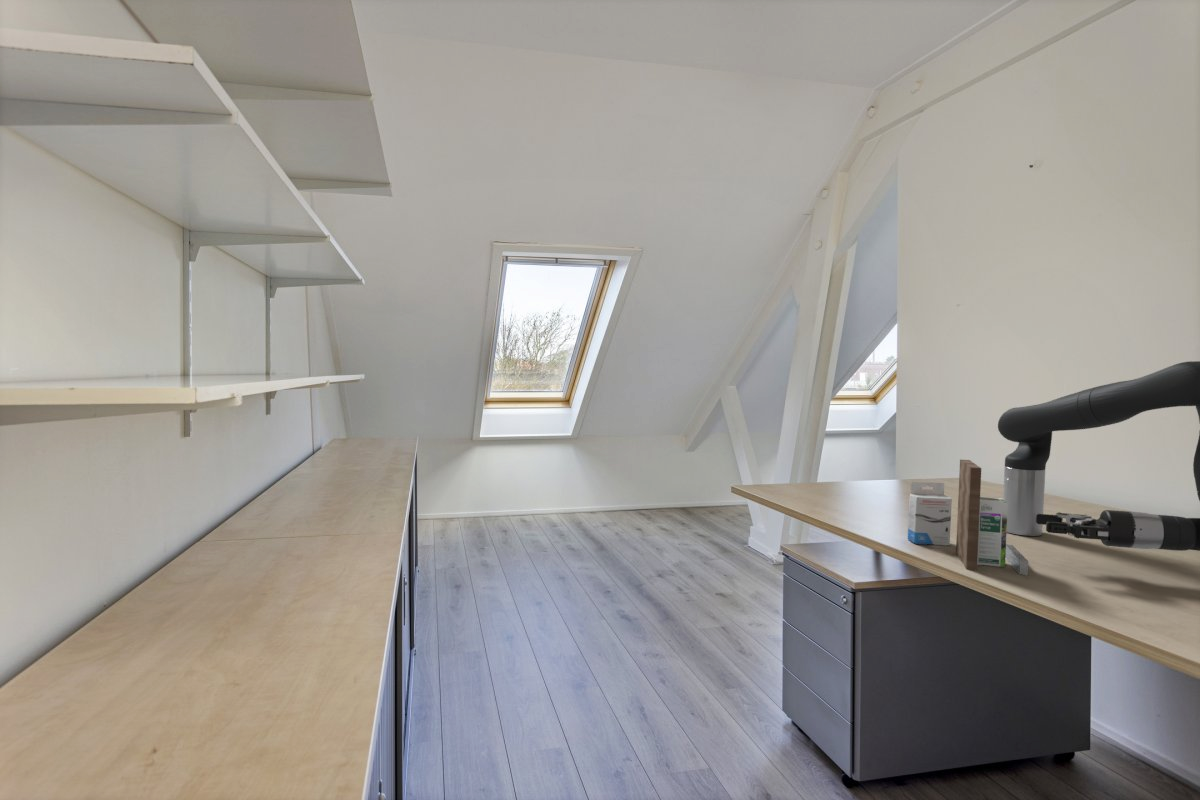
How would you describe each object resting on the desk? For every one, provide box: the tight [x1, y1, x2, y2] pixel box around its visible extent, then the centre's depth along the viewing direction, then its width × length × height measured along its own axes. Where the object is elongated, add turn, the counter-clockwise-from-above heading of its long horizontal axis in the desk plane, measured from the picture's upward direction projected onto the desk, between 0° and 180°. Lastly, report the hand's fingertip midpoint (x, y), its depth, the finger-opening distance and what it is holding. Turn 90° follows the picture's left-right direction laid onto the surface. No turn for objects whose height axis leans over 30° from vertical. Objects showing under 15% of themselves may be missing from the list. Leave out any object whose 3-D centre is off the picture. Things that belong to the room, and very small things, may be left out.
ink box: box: [907, 481, 953, 546], centre depth 171 cm, size 9×5×15 cm, turn 84°
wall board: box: [955, 459, 1029, 576], centre depth 153 cm, size 14×12×22 cm
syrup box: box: [977, 496, 1008, 568], centre depth 154 cm, size 6×6×14 cm
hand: (1041, 522), depth 150 cm, fingers open, 8 cm apart
